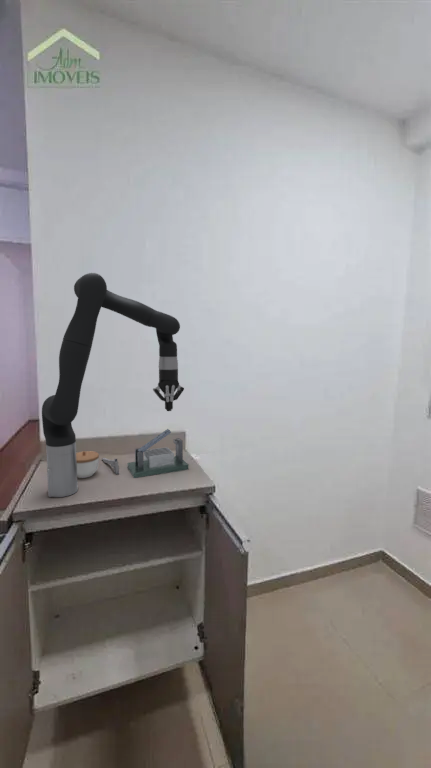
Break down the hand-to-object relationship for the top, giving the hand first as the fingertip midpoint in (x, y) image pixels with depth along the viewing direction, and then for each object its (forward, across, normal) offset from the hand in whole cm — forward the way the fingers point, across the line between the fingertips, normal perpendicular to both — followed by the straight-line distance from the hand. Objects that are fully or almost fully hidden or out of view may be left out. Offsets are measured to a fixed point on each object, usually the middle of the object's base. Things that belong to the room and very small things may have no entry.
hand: (169, 410), depth 141 cm
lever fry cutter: (+24, -6, 0) cm, 24 cm away
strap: (+12, -6, 0) cm, 14 cm away
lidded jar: (+24, -33, +5) cm, 41 cm away
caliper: (+24, -23, +10) cm, 34 cm away
